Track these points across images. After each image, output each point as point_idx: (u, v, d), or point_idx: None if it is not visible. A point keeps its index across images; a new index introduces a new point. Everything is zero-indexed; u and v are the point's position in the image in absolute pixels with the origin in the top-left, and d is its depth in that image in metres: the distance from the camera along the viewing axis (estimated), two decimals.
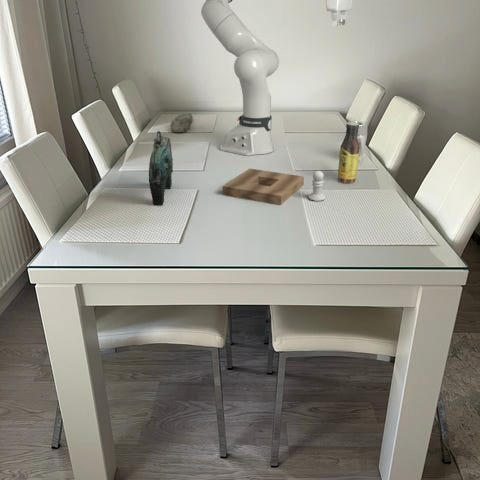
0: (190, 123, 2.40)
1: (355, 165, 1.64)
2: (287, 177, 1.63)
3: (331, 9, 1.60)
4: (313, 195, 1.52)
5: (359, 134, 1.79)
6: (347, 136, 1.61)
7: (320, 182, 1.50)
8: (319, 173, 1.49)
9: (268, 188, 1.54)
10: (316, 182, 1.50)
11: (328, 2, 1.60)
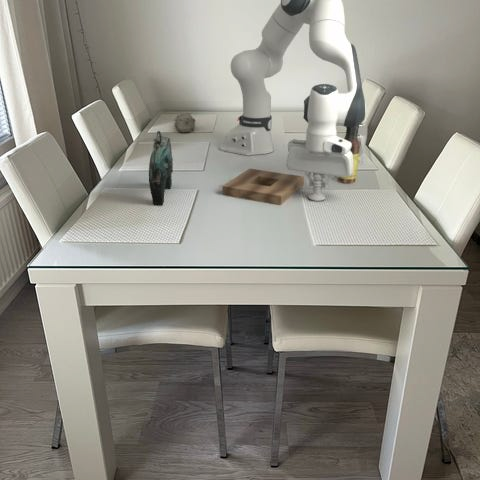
0: None
1: (355, 165, 1.64)
2: (287, 177, 1.63)
3: None
4: (313, 195, 1.52)
5: (359, 134, 1.79)
6: (347, 136, 1.61)
7: (320, 182, 1.50)
8: None
9: (268, 188, 1.54)
10: (316, 182, 1.50)
11: (350, 169, 1.44)
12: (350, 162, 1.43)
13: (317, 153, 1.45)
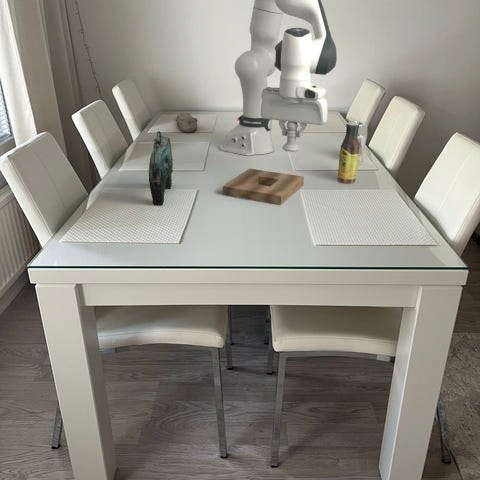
0: None
1: (355, 165, 1.64)
2: (287, 177, 1.63)
3: None
4: (287, 145, 1.50)
5: (359, 134, 1.79)
6: (347, 136, 1.61)
7: (294, 132, 1.48)
8: (293, 122, 1.47)
9: (268, 188, 1.54)
10: (290, 131, 1.48)
11: (324, 116, 1.42)
12: (324, 109, 1.41)
13: (290, 99, 1.42)
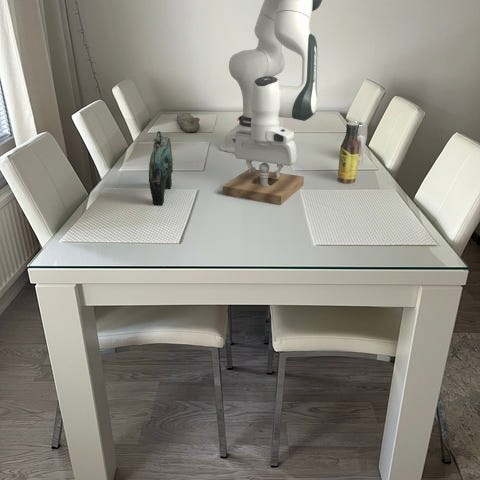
0: None
1: (355, 165, 1.64)
2: (287, 177, 1.63)
3: (293, 163, 1.53)
4: None
5: (359, 134, 1.79)
6: (347, 136, 1.61)
7: (266, 174, 1.58)
8: (264, 165, 1.57)
9: (268, 188, 1.54)
10: (262, 173, 1.58)
11: (292, 157, 1.51)
12: (292, 151, 1.50)
13: (261, 142, 1.52)
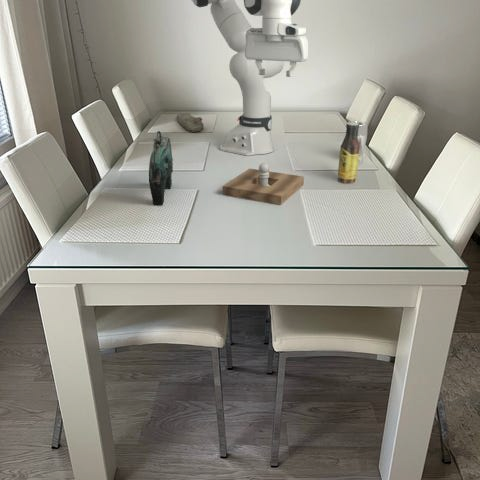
0: None
1: (355, 165, 1.64)
2: (287, 177, 1.63)
3: (305, 60, 1.51)
4: None
5: (359, 134, 1.79)
6: (347, 136, 1.61)
7: (265, 174, 1.58)
8: (264, 165, 1.57)
9: (268, 188, 1.54)
10: (262, 174, 1.58)
11: (305, 53, 1.49)
12: (304, 45, 1.48)
13: (272, 38, 1.49)
